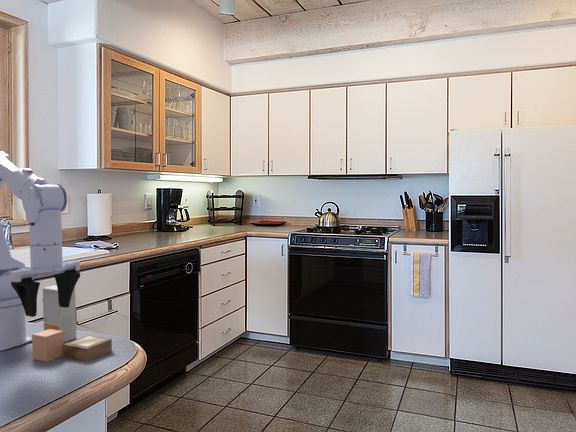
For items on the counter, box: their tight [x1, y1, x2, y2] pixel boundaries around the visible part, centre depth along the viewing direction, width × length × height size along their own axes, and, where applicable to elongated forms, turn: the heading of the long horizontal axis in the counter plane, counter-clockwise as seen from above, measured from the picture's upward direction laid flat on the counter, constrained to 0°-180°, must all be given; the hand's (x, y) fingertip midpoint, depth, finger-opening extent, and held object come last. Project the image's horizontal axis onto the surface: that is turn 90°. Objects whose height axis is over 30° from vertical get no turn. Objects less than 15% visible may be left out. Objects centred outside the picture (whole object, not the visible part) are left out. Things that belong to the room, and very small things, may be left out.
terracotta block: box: [31, 329, 65, 362], centre depth 93 cm, size 4×4×5 cm
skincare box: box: [42, 284, 77, 343], centre depth 104 cm, size 6×4×12 cm
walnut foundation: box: [62, 334, 113, 362], centre depth 95 cm, size 6×6×3 cm
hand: (48, 311), depth 93 cm, fingers open, 7 cm apart
